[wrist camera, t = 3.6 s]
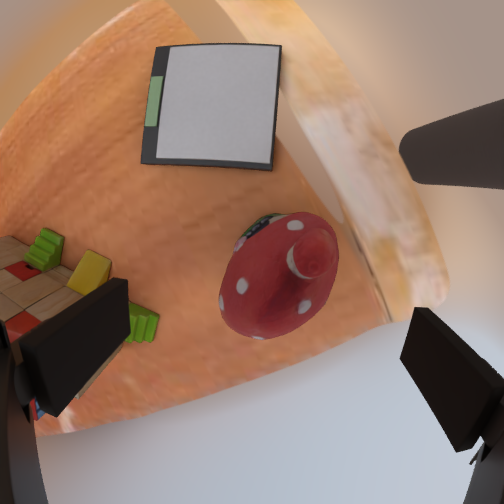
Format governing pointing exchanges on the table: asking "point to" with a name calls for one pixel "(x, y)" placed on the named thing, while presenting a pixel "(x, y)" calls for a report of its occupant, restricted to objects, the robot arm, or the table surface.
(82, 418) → the table surface
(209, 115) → the kitchen scale
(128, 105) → the table surface
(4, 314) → the block set
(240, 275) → the decorative ornament
